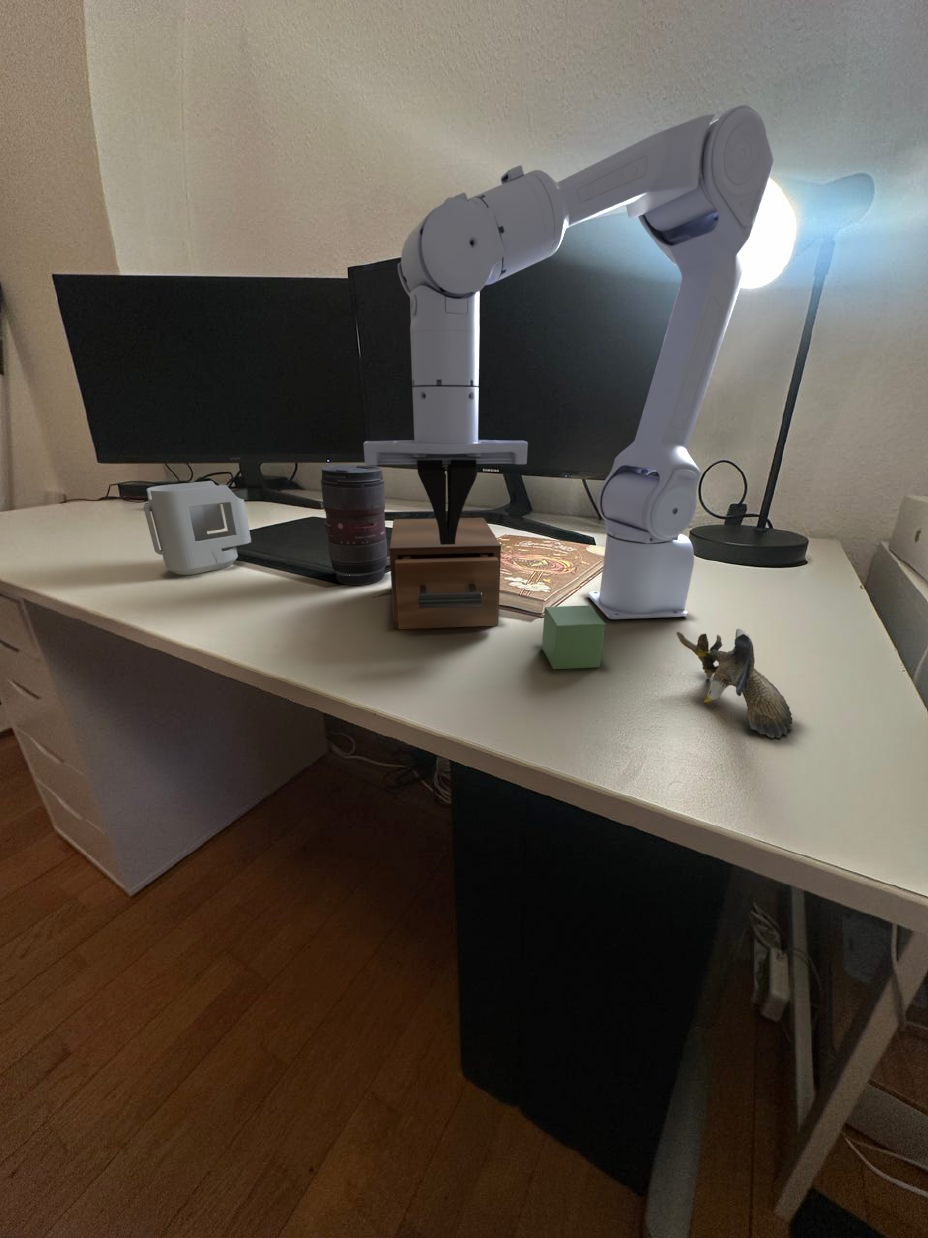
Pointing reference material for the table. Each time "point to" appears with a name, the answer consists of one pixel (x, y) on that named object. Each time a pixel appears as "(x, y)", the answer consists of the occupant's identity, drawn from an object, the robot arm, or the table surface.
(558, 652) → the block
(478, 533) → the cabinet
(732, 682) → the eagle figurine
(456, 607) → the drawer
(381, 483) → the camera lens
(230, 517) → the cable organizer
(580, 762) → the table surface
